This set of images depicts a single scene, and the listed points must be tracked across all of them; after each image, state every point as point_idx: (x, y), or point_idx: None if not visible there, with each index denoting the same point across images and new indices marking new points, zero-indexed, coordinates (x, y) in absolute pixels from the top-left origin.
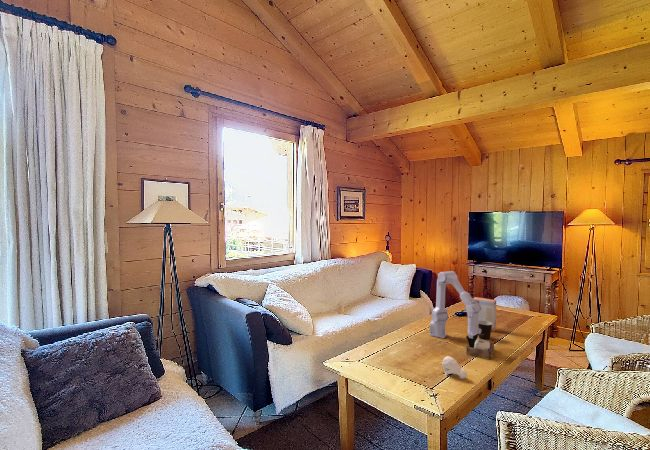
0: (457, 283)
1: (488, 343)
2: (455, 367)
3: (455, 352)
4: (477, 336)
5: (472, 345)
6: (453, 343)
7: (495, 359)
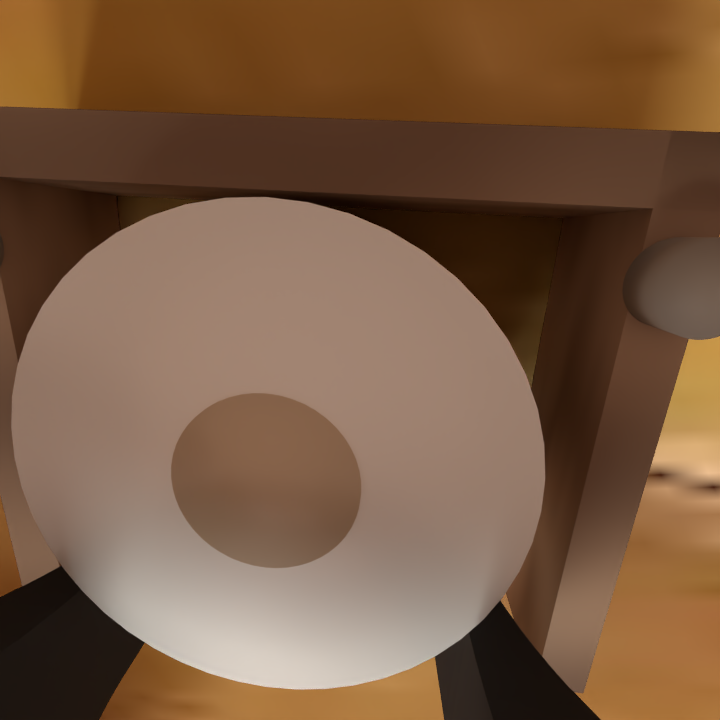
0: None
1: (270, 254)
2: None
3: None
4: (11, 653)
5: None
6: (202, 714)
7: (574, 78)
